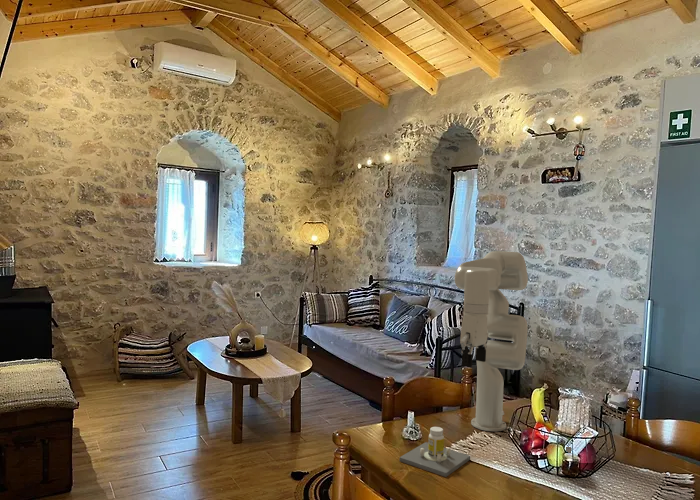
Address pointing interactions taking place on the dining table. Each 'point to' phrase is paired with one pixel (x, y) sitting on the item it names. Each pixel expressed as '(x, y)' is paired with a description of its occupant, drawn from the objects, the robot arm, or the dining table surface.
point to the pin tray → (435, 460)
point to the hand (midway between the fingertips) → (473, 363)
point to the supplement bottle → (436, 442)
